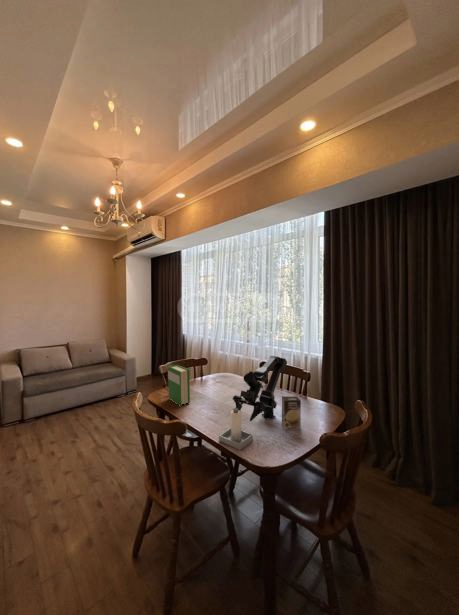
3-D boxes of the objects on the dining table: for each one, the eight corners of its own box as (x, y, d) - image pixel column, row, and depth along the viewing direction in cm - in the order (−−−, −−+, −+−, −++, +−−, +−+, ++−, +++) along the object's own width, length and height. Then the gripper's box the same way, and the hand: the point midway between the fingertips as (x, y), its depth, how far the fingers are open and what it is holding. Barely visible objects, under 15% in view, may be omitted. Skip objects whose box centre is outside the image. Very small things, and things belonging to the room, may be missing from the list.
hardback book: (189, 404, 172) (189, 369, 171) (180, 407, 167) (179, 371, 167) (178, 396, 186) (177, 364, 185) (168, 399, 181) (167, 366, 180)
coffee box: (284, 430, 135) (284, 400, 135) (281, 424, 142) (281, 396, 141) (301, 429, 136) (300, 400, 135) (297, 423, 142) (297, 395, 141)
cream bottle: (230, 436, 129) (230, 406, 128) (241, 436, 129) (240, 406, 128) (230, 442, 123) (230, 411, 123) (241, 442, 123) (241, 411, 123)
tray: (232, 432, 134) (232, 426, 134) (252, 440, 126) (252, 434, 126) (219, 441, 125) (218, 435, 125) (240, 450, 117) (239, 444, 117)
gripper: (234, 380, 140) (221, 407, 132) (263, 387, 128) (251, 417, 120) (242, 390, 146) (231, 416, 138) (270, 397, 135) (260, 426, 126)
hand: (242, 418), depth 130 cm, fingers open, 9 cm apart
